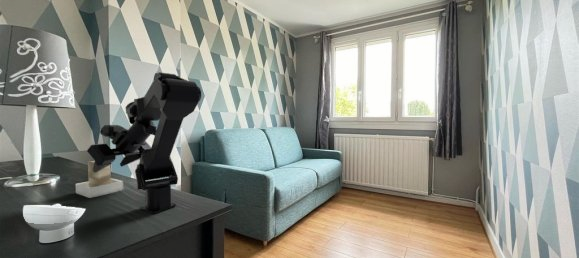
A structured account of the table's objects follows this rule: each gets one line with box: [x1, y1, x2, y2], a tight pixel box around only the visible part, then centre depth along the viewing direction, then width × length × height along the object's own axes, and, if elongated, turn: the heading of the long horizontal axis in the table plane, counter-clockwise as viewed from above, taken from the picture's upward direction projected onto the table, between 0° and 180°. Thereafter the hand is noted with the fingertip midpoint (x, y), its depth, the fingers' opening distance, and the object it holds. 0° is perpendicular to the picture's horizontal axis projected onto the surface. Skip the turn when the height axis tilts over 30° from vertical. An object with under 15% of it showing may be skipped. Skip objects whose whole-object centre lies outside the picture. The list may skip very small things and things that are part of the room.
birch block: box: [87, 160, 112, 187], centre depth 78 cm, size 4×4×10 cm
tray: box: [75, 177, 124, 199], centre depth 78 cm, size 9×9×3 cm
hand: (108, 168), depth 77 cm, fingers open, 9 cm apart
